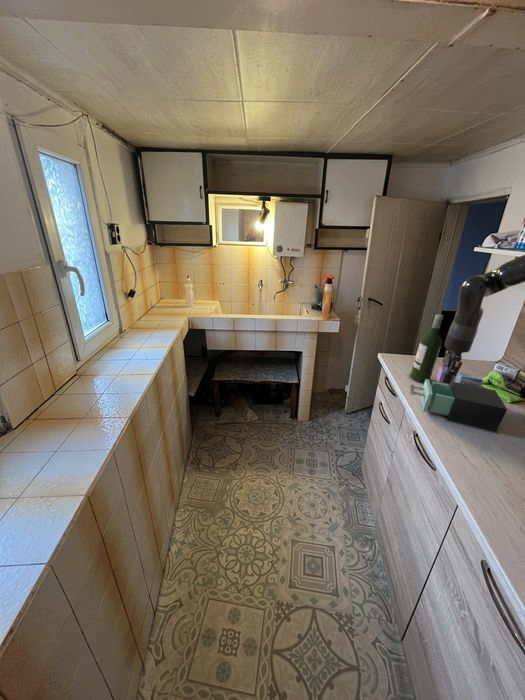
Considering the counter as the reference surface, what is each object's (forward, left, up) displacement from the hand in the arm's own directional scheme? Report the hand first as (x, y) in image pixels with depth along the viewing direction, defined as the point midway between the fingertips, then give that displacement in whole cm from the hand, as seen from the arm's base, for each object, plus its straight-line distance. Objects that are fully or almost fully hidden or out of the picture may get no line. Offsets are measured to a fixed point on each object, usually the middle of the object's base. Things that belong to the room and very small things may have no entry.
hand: (445, 379), depth 101 cm
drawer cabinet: (-11, 0, -13) cm, 17 cm away
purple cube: (0, 0, -1) cm, 1 cm away
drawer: (+1, 0, -12) cm, 12 cm away
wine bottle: (+3, -23, -13) cm, 27 cm away
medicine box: (-13, -17, -13) cm, 25 cm away
